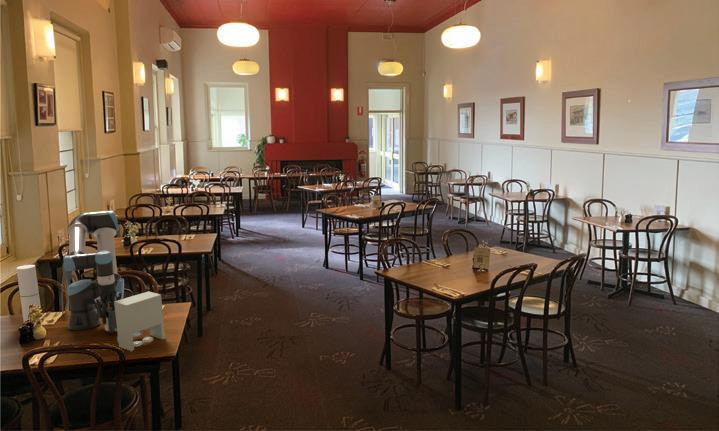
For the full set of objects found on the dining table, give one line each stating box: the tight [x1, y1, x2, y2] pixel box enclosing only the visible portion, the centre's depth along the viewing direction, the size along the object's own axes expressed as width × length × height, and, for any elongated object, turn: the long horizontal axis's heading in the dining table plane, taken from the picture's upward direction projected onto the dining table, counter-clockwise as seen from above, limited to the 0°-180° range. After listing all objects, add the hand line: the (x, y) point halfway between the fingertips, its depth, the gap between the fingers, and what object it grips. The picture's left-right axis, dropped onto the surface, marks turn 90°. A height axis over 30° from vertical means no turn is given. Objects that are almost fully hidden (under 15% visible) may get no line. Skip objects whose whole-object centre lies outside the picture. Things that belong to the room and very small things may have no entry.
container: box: [15, 264, 42, 323], centre depth 307 cm, size 9×9×30 cm
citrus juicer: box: [60, 262, 78, 315], centre depth 315 cm, size 11×10×30 cm
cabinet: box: [114, 290, 166, 352], centre depth 274 cm, size 10×18×22 cm, turn 143°
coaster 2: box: [141, 336, 155, 344], centre depth 279 cm, size 5×5×1 cm
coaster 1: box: [133, 340, 143, 348], centre depth 274 cm, size 5×5×1 cm
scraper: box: [104, 307, 145, 344], centre depth 283 cm, size 20×13×11 cm, turn 52°
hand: (111, 328), depth 289 cm, fingers closed on scraper, 4 cm apart
